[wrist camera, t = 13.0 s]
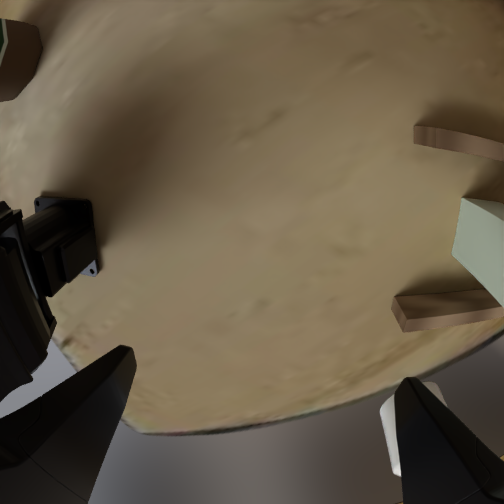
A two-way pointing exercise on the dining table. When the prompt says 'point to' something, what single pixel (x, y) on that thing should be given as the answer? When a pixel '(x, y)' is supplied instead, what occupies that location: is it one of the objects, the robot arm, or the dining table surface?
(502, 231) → the block
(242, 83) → the dining table surface
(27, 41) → the beer bottle
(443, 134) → the box
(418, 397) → the robot arm
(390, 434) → the pill bottle
